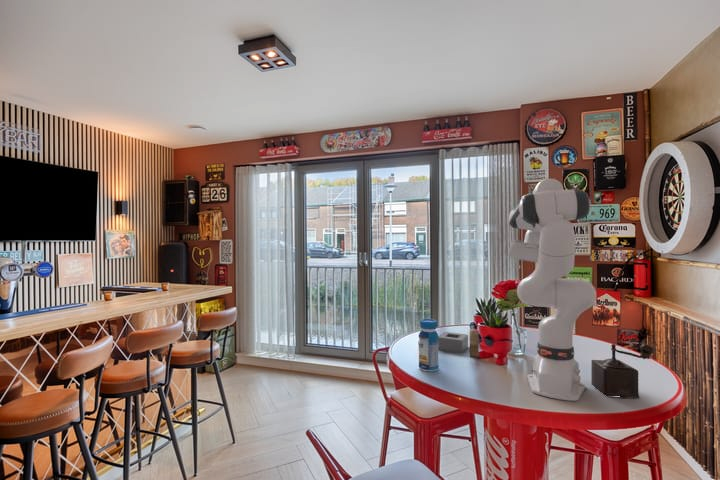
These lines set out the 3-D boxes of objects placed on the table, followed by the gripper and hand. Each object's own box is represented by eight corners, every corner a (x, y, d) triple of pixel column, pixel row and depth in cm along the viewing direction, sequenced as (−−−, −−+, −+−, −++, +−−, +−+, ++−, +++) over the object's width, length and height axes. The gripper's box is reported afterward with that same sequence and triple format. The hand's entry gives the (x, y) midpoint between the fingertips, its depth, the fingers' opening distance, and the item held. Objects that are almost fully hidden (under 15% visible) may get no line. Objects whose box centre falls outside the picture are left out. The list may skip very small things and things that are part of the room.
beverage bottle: (439, 372, 142) (439, 323, 142) (418, 371, 143) (417, 322, 144) (438, 365, 150) (438, 318, 150) (418, 364, 152) (418, 317, 152)
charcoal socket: (462, 353, 167) (462, 340, 167) (437, 349, 173) (437, 337, 173) (468, 346, 177) (468, 334, 177) (444, 343, 183) (444, 331, 183)
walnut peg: (477, 358, 159) (477, 331, 159) (468, 357, 161) (468, 330, 161) (479, 355, 163) (479, 329, 163) (470, 354, 165) (470, 328, 165)
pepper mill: (606, 397, 119) (606, 344, 119) (590, 384, 130) (590, 335, 130) (658, 400, 116) (657, 346, 117) (637, 387, 127) (636, 337, 127)
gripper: (509, 237, 172) (503, 265, 170) (556, 243, 159) (550, 273, 157) (513, 241, 177) (507, 267, 175) (558, 246, 164) (553, 275, 162)
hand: (528, 270), depth 166 cm, fingers open, 8 cm apart
